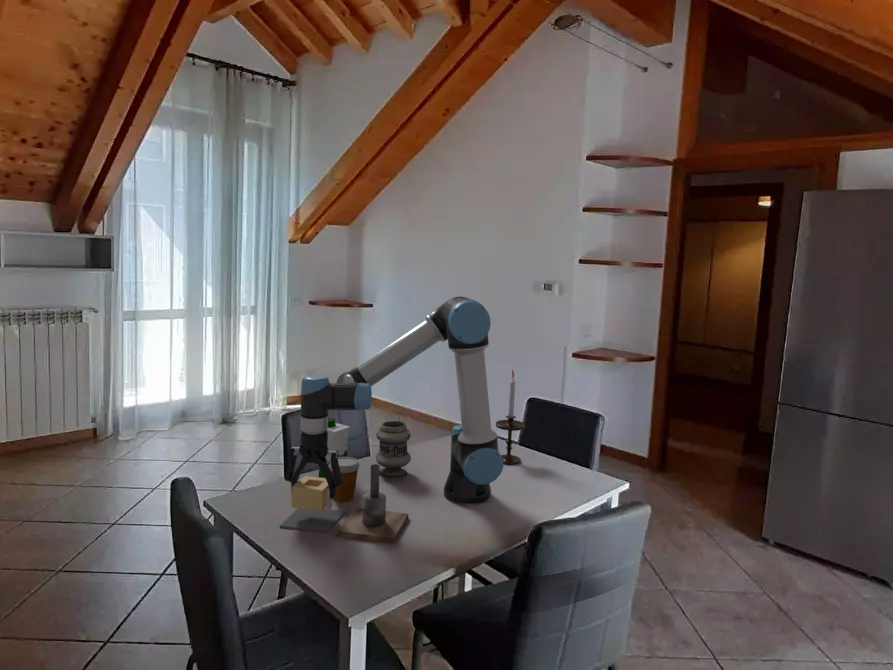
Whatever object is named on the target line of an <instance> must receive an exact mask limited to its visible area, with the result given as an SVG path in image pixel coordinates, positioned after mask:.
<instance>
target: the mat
mask: <svg viewBox="0 0 893 670" xmlns="http://www.w3.org/2000/svg"><path fill="white" fill-rule="evenodd" d="M345 513H346V512H345V510H340V509H333V508H331V509H330V510H329V511H327V510H326V508H325V509H324V510H323V511H315V510H307V509H299V508H295V510H294V511H293V512H292V513H291V514H290V515H289V516H288V517H287V518H286V519H285V520H284V521H283V522H282V523H281V524H280V525H279V528H282V529H283V528H284V529H291V530H299V531H305V532H306V531H307V532H315V533H324V534H329V533H330V531H332V529H333V528H334V527H335V525H336V524H337V523H338V522H339V520H340V519H341V518H342V517H343V516H344V515H345Z"/></svg>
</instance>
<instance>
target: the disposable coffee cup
mask: <svg viewBox="0 0 893 670" xmlns="http://www.w3.org/2000/svg"><path fill="white" fill-rule="evenodd" d="M338 463H339V468H340V473H341V478H342V484H341V485H340V486H339V487H336V493H335V497H334V499H333V501H335V502H337V503H338V502H339V503H347V502H352V501H353V500H354V498H355V493H356V485H357V484H356V483H357V478H358V470H359V468H360V463H359V460H358V459H357V458H355V457H352V456H347V457H338ZM329 468H330V470H331V473H332V475H333V471H332V466H331V461H330V464H329ZM333 477H334V476H333Z"/></svg>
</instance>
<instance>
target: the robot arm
mask: <svg viewBox="0 0 893 670" xmlns="http://www.w3.org/2000/svg"><path fill="white" fill-rule="evenodd" d="M490 317H491V316H490V313H489V312H488V311H487V309H486V308H485V306H484V305H483V304H482V303H480V302H479V301H476V300H475V299H471V298H469V297H466V296H456V297H452V298H450V299H448V300H446V301H445V302H444V303H442V304H441V305H439V306H438V307H437V308H435V309H434V310H433V311H431V312H430V313H429V314H427V315H426V317H425V319H424V320H423V321H422V322H421V323H419V324H418V325H416V326H415V327H414V328H413V327H412V329H411V330H409V331H407V332H406V333H404V334H403V335H402V336H400V337H399V338H397V339H396V340H394V341H393V342H391V343H390V344H388V345H386V346H385V347H384V348H382V349H380V350H379V351H377V352H376V353H375V354H373V355H371V356H370V357H369V358H368V359H366V360H364V361H363V362H361V363H359V365H357V366H355V367H354V368H352V369H351V370H348V371H344V372H342V373H341V374H340V375H339V376H338V377H337V380H336V383H334V382H330V380H329V377H328V376H327V375H325V374H310V375H306V376H304V377H303V378H302V379H301V384H300V385H301V387H300V427H299V428H300V430H301V431H300V438H299V440H300V445H299V446H297V445H294V446H292V447H291V448H290V449H289V451H288V452H289V459H288V464H287V468H286V472H285V475H284V481H285V482H290V484H291V485H290V488H291V489H290V492H291V493H290V494H292V486H294V485H295V484H296V483H297V482H298V481H299V480H300V476H301V475H302V473H303V471H304V469H305V468H306V466H307V464H312V463H313V464H316V465H318V468H319V467H320V468H321V470H322V472H323V474H324V476H325V479H326V481H327V483H328V485H329V487H328V488H327V497H326V508H325V509H326V510H327V511H329V510H330V509H333V500H334V499H333V498H334V497H335V493H336V487H339V486H340V485H341V484H342V478H341V473H340V468H339V463H338V451H337V450H336V451H330V450H329V449H328V447H327V444H328V431H327V429H328V418H329V411H357V412H359V411H364V410H366V411H367V410H369V409H370V408H371V407H372V400H373V399H372V398H373V397H372V391H373V390H372V387H373V386H374V385H376V384H377V383H379V382H380V381H382V380H383V379H384V378H386V377H388V376H389V375H391V374H393V373H394V372H395V371H397V370H398V369H400V368H401V367H402V366H404V365H406V364H407V363H408V362H410V361H412V360H413V359H415V358H416V357H417V356H419V355H421V354H422V353H424V352H425V351H427V350H428V349H430V348H431V347H432V346H434V345H435V344H437V343H439V342H443V343H445V342H446V341H447V343H448V345H447V346H448V349H449V350H450V351H451V352H453V353H454V363H455V371H456V382H457V390H458V391H457V393H458V403H459V411H460V421H461V424H457V425H454V426H453V427H452V429H451V434H450V438H451V441H450V463H449V464H450V468H449V473H448V476H447V478H446V481H445V484H444V486H443V496H444V498H446V499H447V500H448V501H450V502H452V503H456V504H461V505H462V504H463V505H478V504H483V503H486V502H488V501H489V500H490V499H491V497H492V488H491V485H490V484H491V483H493V482H495V481H496V480H497V479H498V478H499V476H500V475H501V474H502V472H503V469H504V464H503V459H502V456H501V455H502V453H500V452H499V443H498V442H499V441H498V433H497V432H496V431H494V430H493V429H492V424H491V422H492V421H491V412H490V411H491V410H490V401H489V389H488V377H487V368H486V358H485V357H486V356H485V350H486V349H487V348H488V346H489V345H490V343H489V332H490V330H491V326H492V325H491V321H492V320H491V318H490ZM299 453H300V455H301V457H302V458H301V460H300V462H299V465H298V467H297V469H296V470H295V467H296V462H297V458H298V454H299ZM327 454H328V455H329V458H330V459H331V466H332V471H333V475H332V473H331V470H330V468H329V466H328V464H327V460H326V456H327ZM294 471H295V472H294ZM333 476H334V477H333ZM332 499H333V500H332Z"/></svg>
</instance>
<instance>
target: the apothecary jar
mask: <svg viewBox="0 0 893 670" xmlns="http://www.w3.org/2000/svg"><path fill="white" fill-rule="evenodd" d="M375 434H376V439H378V441H379V452H377V454H376V456H375V461H376V462H377V463H376V464H378V465H380V467H383V468H381V469H380V470H379V476H381V477H382V478H385V479H391V480H392V479H397V480H398V479H401V478H404V477H406V476H407V474H408V472H407V470H406V469H404V468H403V467H405V466H407V465H408V464H409V463H410V462H411V459H412V458H411V454H410V452H409V451H408V441H409V440H410V439H411V436H412V435H411V432H410V430H409V429H408V428H407V424H406V422H405V421H401V420H387V421H386V420H385V421H383V422H381V425H380V428H379V429H378V430H377V431H376V433H375Z"/></svg>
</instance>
